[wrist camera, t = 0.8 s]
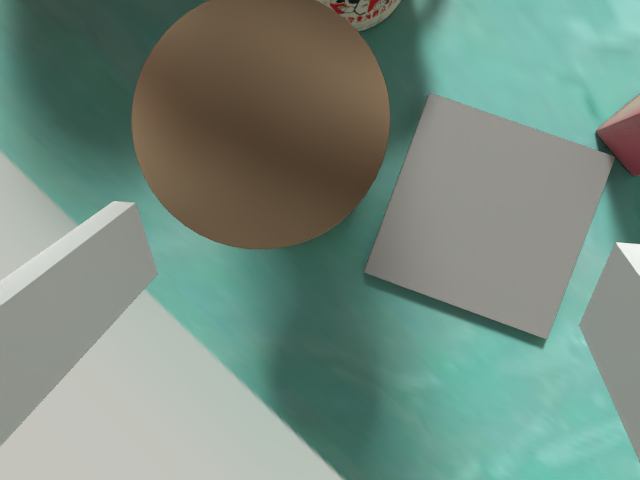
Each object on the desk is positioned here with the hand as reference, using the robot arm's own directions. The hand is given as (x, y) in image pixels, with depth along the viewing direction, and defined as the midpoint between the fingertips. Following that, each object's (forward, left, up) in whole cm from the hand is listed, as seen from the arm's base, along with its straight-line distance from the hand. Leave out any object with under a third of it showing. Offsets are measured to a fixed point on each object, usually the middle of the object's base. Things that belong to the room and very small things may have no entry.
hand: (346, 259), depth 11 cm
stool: (-3, -4, -17) cm, 18 cm away
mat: (-5, +9, -17) cm, 20 cm away
